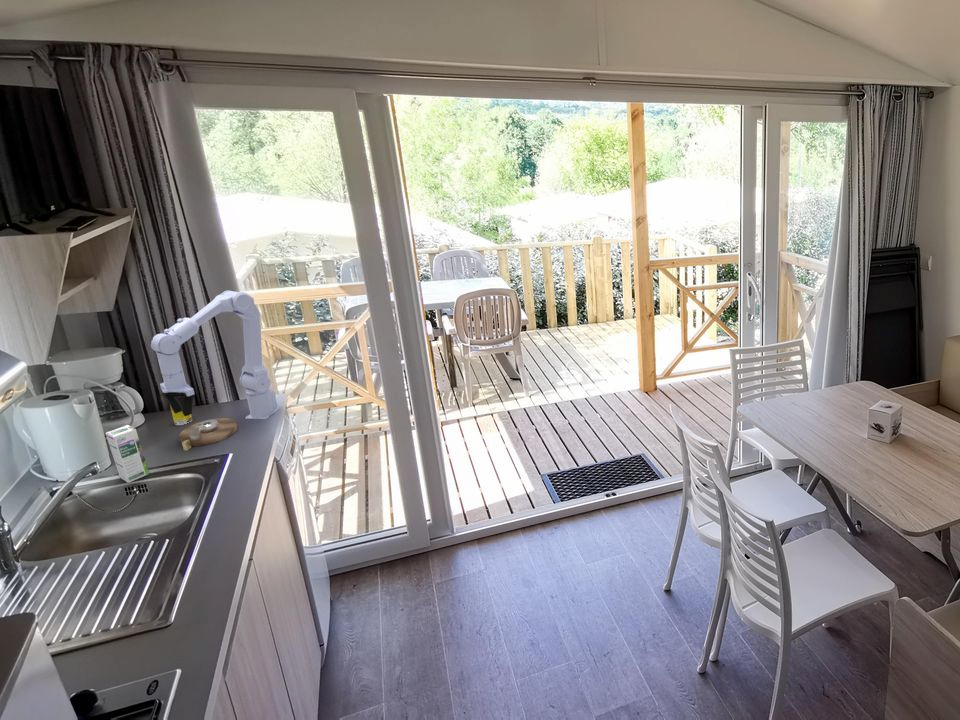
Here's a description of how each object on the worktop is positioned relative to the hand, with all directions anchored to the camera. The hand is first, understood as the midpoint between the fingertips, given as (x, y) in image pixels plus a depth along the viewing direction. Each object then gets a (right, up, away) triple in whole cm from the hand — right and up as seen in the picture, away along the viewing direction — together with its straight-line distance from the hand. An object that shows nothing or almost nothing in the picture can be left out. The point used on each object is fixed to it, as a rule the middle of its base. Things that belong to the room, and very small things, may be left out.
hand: (183, 413), depth 167 cm
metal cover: (+4, -6, +8) cm, 11 cm away
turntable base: (+4, -8, +8) cm, 12 cm away
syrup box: (-6, -17, -15) cm, 23 cm away
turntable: (+4, -7, +8) cm, 12 cm away
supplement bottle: (-10, -5, +19) cm, 22 cm away
